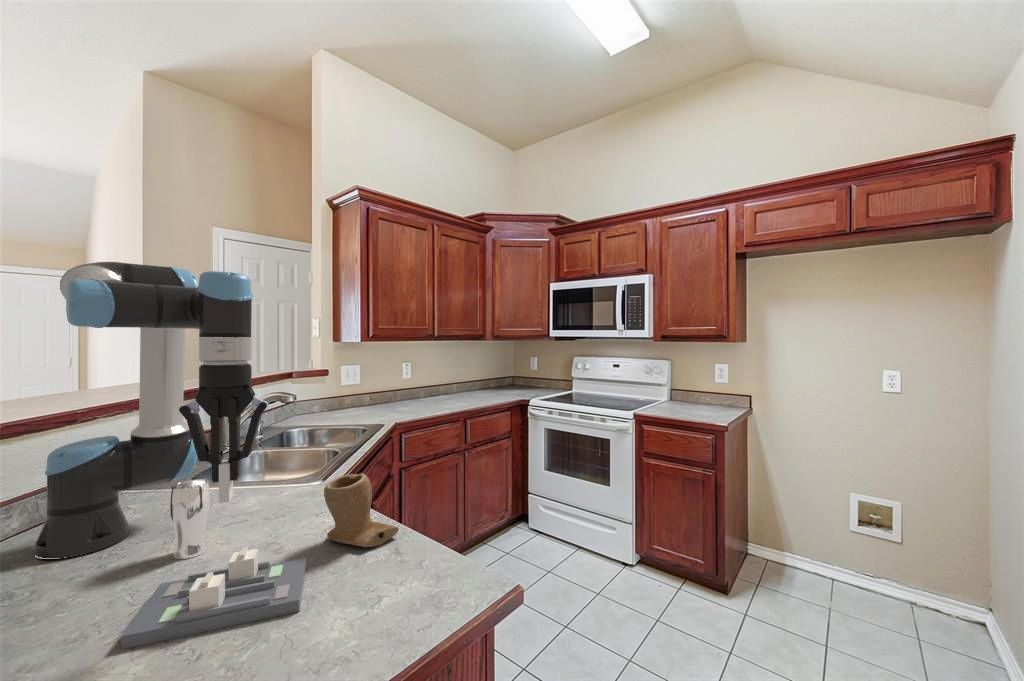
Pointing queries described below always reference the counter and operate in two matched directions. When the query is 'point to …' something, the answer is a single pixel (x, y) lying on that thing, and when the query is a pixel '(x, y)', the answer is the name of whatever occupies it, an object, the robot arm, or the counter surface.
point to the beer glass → (190, 517)
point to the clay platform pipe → (354, 512)
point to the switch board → (243, 603)
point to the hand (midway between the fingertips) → (226, 499)
